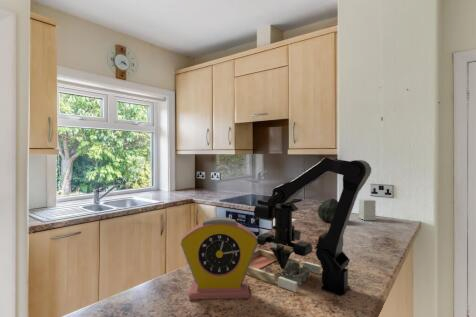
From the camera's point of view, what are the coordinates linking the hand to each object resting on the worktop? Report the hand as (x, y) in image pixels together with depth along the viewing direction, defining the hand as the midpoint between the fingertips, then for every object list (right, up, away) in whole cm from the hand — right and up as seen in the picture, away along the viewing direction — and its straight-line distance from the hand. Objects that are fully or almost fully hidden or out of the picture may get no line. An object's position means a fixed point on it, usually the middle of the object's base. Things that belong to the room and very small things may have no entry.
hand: (283, 268), depth 93 cm
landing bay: (+5, -2, -4) cm, 7 cm away
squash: (+41, -1, +74) cm, 85 cm away
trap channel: (-6, -1, +5) cm, 8 cm away
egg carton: (+4, -2, -3) cm, 5 cm away
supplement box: (+65, -1, +79) cm, 102 cm away
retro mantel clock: (-21, -2, -12) cm, 24 cm away
